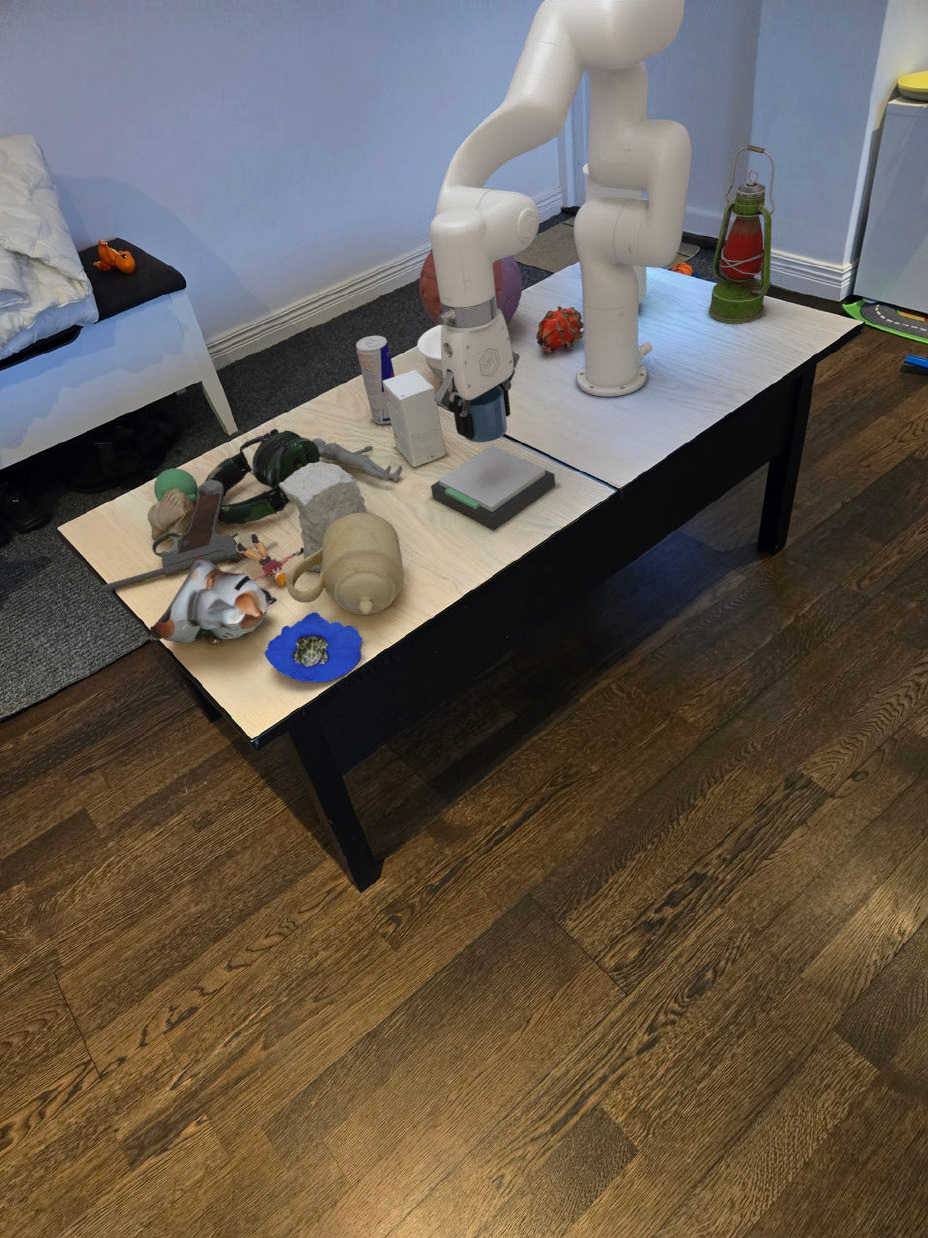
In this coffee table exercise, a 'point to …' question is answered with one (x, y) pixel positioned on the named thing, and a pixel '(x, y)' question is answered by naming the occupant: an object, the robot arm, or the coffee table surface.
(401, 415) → the small box
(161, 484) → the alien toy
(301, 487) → the decorative stone
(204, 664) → the coffee table surface
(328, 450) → the action figure
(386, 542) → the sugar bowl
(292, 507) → the coffee table surface
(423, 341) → the bowl
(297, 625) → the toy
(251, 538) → the action figure
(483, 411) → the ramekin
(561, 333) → the dragon fruit
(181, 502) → the seashell
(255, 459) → the headphones
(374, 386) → the beverage can
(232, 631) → the lucky cat figurine
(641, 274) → the vase
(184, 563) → the handgun
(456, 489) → the scale
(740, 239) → the lantern
